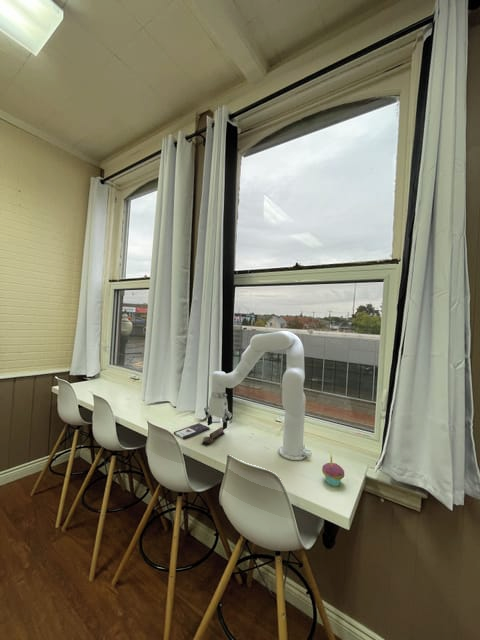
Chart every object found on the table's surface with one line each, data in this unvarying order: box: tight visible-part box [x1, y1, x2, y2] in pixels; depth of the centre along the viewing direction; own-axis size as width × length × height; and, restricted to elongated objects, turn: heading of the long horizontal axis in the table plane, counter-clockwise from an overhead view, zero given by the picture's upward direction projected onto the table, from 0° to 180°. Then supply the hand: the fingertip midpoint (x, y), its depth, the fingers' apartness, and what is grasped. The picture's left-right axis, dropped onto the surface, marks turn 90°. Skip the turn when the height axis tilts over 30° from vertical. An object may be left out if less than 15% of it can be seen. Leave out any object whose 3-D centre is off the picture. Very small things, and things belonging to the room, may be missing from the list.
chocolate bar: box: [173, 422, 210, 440], centre depth 147 cm, size 9×1×18 cm
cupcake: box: [321, 454, 345, 487], centre depth 107 cm, size 9×8×12 cm
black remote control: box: [201, 432, 225, 447], centre depth 140 cm, size 17×3×1 cm, turn 150°
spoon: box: [202, 426, 225, 444], centre depth 140 cm, size 16×5×3 cm, turn 150°
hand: (217, 426), depth 141 cm, fingers open, 9 cm apart
